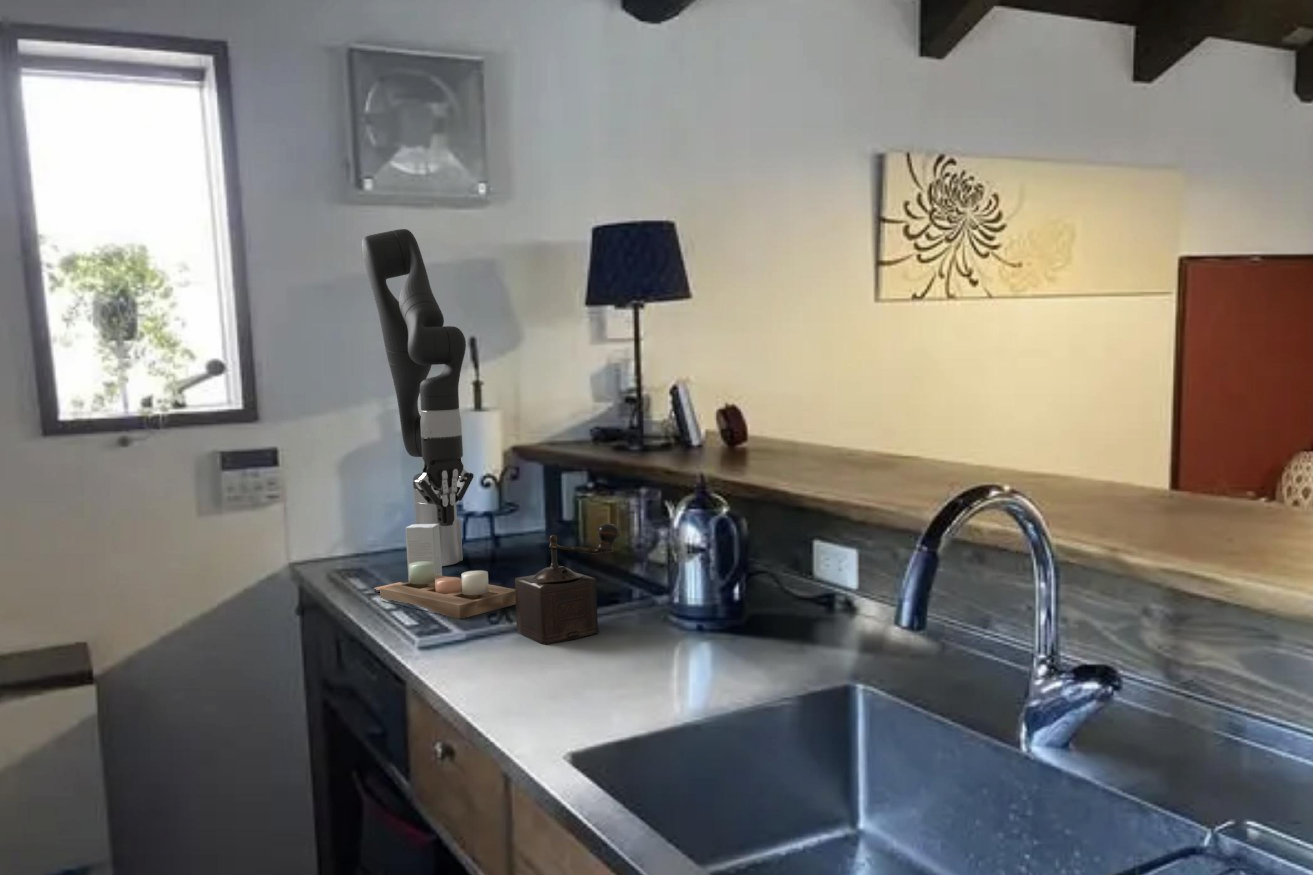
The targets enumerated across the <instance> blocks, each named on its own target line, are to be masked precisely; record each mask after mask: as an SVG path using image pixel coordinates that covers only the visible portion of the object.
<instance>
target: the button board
mask: <svg viewBox="0 0 1313 875" xmlns="http://www.w3.org/2000/svg"><path fill="white" fill-rule="evenodd" d="M444 577H448V576H446V575H443V574H442V575H437V576H435V580H436V579H439V578H444ZM401 583H402V584H397V585H393V586H389V587H384V588H380V593H379V594H380V595H379V597H380V599H381V598H383V599H387V600H394V601H398V602H404V603H410V604H413V605H418V606H420V607H424V608H427V609H429V610H432V611H433V612H437V613H441V614H443V615H448V616H450V617H449V618H452V617H456V618H463V619H466V618H465V617H467V618H470V616H471V617H474V616H477V615H480V614H481V615H482V614H485V613H489V612H492V611H495V610H499V609H500V610H501V609H503V608H507V607H511V606H513V605H515V606H516V599H515V588H509V587H504V586H499V585H493V584H489V583H488V586H489V592H487V593H485V594H480V595H465V594H463V593H462V578H461V591H458V592H454V593H449V594H441V593H436V589H435V581H434V582H432V583H428V584H411V583H410V582H409V581H408V582H401ZM443 615H442V616H443ZM473 615H474V616H473ZM456 618H455V619H456Z"/></svg>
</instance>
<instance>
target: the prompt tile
mask: <svg viewBox="0 0 1313 875" xmlns="http://www.w3.org/2000/svg"><path fill="white" fill-rule="evenodd" d="M402 583H403V582H401V581H399V582H395V583H390V584H386V585H380V586H376V587H374V588H373V590H374V589H376V590H380V588H384V587H389V586H393V585H397V584H402Z"/></svg>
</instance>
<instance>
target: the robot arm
mask: <svg viewBox="0 0 1313 875" xmlns="http://www.w3.org/2000/svg"><path fill="white" fill-rule="evenodd" d="M361 251H362V252H361V254H362V258H363V262H364V267H365V270H366V272H367V273H366V274H367V276H368V280H369V282H370V283H369V284H370V287H371V290H372V294H373V297H374V301H375V304H376V308H377V313H378V317H379V322H380V327H381V333H382V338H383V344H384V350H385V352H386V357H387V363H388V365H389V370H390V373H391V377H392V381H393V385H394V390H395V395H396V399H397V406H398V407H397V408H398V414H399V415H398V416H399V420H400V421H399V422H400V427H401V435H402V441H403V444H404V448H405V451H406V452H407V453H408V455H409V456H411V457H414V458H422V460H423V463H424V464H423V468H422V472H420V473H417V474H415V475H414V476H413V480H412V485H413V486H412V487H413V502H414V521H415V523H414V524H439V533H440V548H441V564H442V567H446V566H451V565H455V564H457V563H459V562H462V561H463V542H462V540H463V539H462V538H463V536H462V521H461V519H460V518H458V511H457V502H460V501H462V500H463V498H464V496H465V494H466V493H467V491H468V489H469V487H470V485H471V483H472V480H473V479H474V478H475V477H474V476H475V475H474V473H473V472H468V471H467V470H465V467H464V464H463V461H462V458H463V457H464V449H463V448H464V447H463V432H462V431H463V430H462V428H463V427H462V426H463V425H462V418H461V411H460V400H459V399H460V398H459V397H460V396H459V386H460V384H459V383H460V378H461V372H462V367H463V363H464V358H465V354H466V348H467V341H466V338H465V335H464V333H463V331H462V330H461V329H460V328H459V327H457V326H451V325H447V326H446V325H445V326H444V323H445V319H444V318H445V317H444V315H443V313H442V310H441V308H440V306H439V304H438V302H437V300H436V298H435V296H434V293H433V291H432V288H431V284H430V280H429V276H428V273H427V269H426V266H425V262H424V258H423V256H422V253H421V249H420V246H419V244H418V241H417V239H416V237H415V236H414V234H413V233H412V231H410V230H409V229H406V228H402V229H401V228H400V229H393V230H389V231H384V232H379V233H374V234H369V235H367V236H364V237H363V238H362V240H361ZM402 276H407V278H406V280H405V282H404V284H403V286H402V288H401V290H400V293H399V296H398V299H397V298H396V297H395V296H394V294H393V293H392V292H391V290H390V288H389V286H388V284H387V280H388V279H393V278H397V277H402ZM434 365H444V366H443V370H442V371H441V372H440V374H438V375H436V376H432V377H429V378H428V376H429V374H430V371H431V368H432V366H434ZM419 396H420V397H419ZM419 399H420V411H419V404H418V403H419V401H418V400H419Z"/></svg>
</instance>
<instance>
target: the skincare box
mask: <svg viewBox="0 0 1313 875" xmlns="http://www.w3.org/2000/svg"><path fill="white" fill-rule="evenodd" d="M404 529H405V543H406V558H407V560H406V561H407V575H408V578H407V579H408V582H410V575H409V564H410V563H414V562H420V561H431V562H434V567H435V576H437V575H442V576H443V569H442V568H443V566H442V564H441V548H440V533H439V524H415V523H413V524H412V523H411V524H410V525H408V526H406V527H404Z"/></svg>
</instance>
